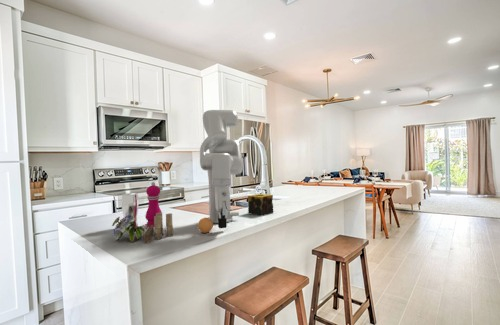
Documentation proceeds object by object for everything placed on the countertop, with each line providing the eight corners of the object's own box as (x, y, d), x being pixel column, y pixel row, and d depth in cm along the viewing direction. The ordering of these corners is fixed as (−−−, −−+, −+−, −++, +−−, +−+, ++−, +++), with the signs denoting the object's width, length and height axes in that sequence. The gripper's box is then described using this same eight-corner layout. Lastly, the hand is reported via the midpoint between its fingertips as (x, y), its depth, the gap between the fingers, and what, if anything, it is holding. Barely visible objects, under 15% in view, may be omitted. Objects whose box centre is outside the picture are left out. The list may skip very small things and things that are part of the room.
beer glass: (135, 224, 122) (134, 192, 122) (141, 227, 118) (140, 193, 117) (119, 227, 118) (118, 194, 118) (125, 230, 113) (124, 195, 113)
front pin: (172, 234, 104) (172, 213, 104) (172, 236, 102) (172, 214, 102) (166, 235, 104) (166, 213, 104) (166, 236, 101) (165, 214, 101)
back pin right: (163, 233, 106) (162, 212, 106) (162, 234, 104) (162, 213, 104) (156, 233, 106) (156, 212, 106) (156, 235, 103) (155, 214, 103)
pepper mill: (165, 223, 123) (164, 181, 123) (158, 227, 116) (157, 182, 116) (150, 223, 124) (149, 181, 124) (142, 227, 117) (141, 182, 117)
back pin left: (161, 237, 100) (161, 215, 100) (161, 239, 98) (160, 216, 98) (155, 238, 100) (154, 215, 100) (154, 239, 97) (153, 217, 97)
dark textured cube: (273, 213, 143) (273, 194, 143) (261, 216, 136) (261, 196, 136) (259, 210, 150) (259, 193, 150) (247, 213, 143) (247, 195, 143)
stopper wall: (153, 232, 108) (153, 224, 108) (148, 242, 94) (148, 234, 94) (149, 232, 108) (149, 225, 108) (144, 243, 94) (143, 234, 94)
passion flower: (118, 255, 98) (106, 227, 101) (146, 242, 105) (134, 217, 109) (123, 244, 90) (110, 214, 94) (153, 231, 98) (140, 204, 101)
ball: (212, 230, 110) (211, 215, 110) (213, 233, 104) (213, 218, 104) (197, 231, 108) (197, 216, 108) (198, 235, 102) (198, 220, 102)
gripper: (234, 184, 101) (235, 231, 101) (226, 181, 116) (227, 222, 116) (215, 184, 99) (216, 233, 99) (209, 182, 114) (210, 224, 114)
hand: (222, 227), depth 108 cm, fingers closed
